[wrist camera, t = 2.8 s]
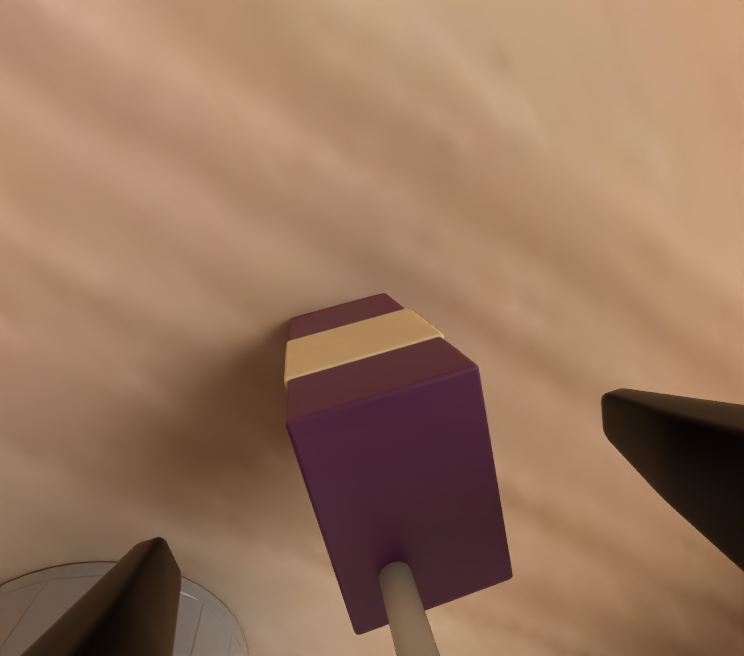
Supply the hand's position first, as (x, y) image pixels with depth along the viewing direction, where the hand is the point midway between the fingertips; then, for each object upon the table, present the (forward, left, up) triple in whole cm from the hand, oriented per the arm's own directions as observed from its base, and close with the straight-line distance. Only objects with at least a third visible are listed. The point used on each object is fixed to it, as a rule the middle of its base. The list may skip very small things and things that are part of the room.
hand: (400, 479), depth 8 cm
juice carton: (0, 0, -6) cm, 6 cm away
